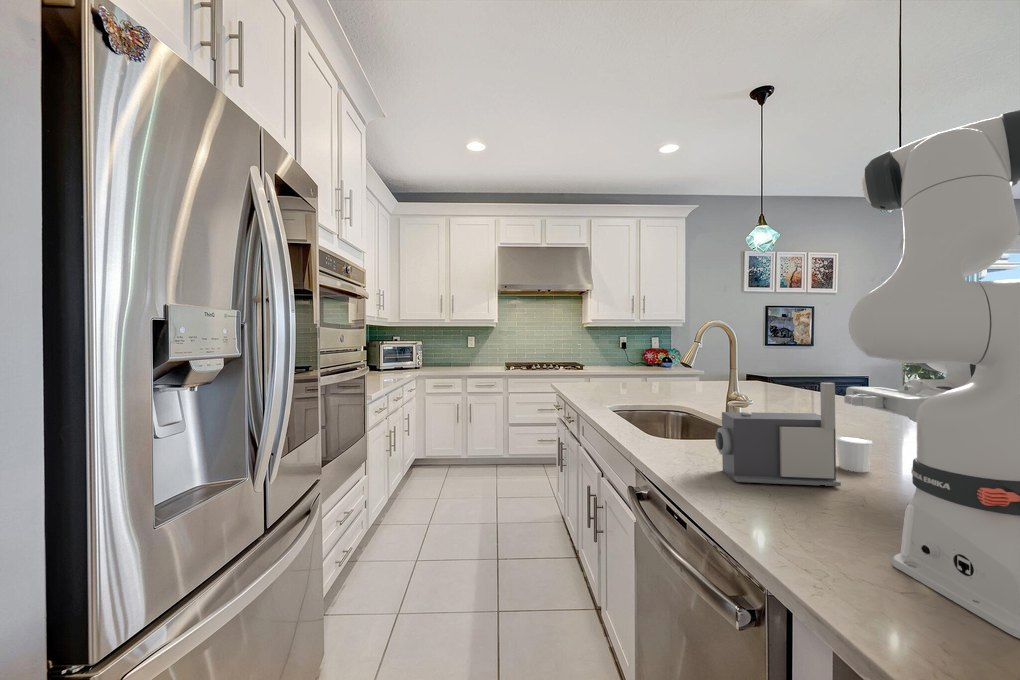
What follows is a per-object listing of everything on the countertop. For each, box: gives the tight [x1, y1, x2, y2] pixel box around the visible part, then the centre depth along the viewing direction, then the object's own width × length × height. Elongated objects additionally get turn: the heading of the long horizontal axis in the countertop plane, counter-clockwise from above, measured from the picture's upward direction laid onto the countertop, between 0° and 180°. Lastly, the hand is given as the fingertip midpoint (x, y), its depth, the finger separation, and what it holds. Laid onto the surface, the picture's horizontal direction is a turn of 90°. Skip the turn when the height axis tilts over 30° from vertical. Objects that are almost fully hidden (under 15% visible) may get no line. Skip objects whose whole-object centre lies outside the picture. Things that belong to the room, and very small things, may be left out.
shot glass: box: [835, 436, 873, 473], centre depth 100 cm, size 7×7×7 cm
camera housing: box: [714, 411, 842, 487], centre depth 94 cm, size 10×22×15 cm, turn 80°
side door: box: [780, 382, 836, 479], centre depth 89 cm, size 1×10×20 cm, turn 80°
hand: (848, 400), depth 87 cm, fingers closed
